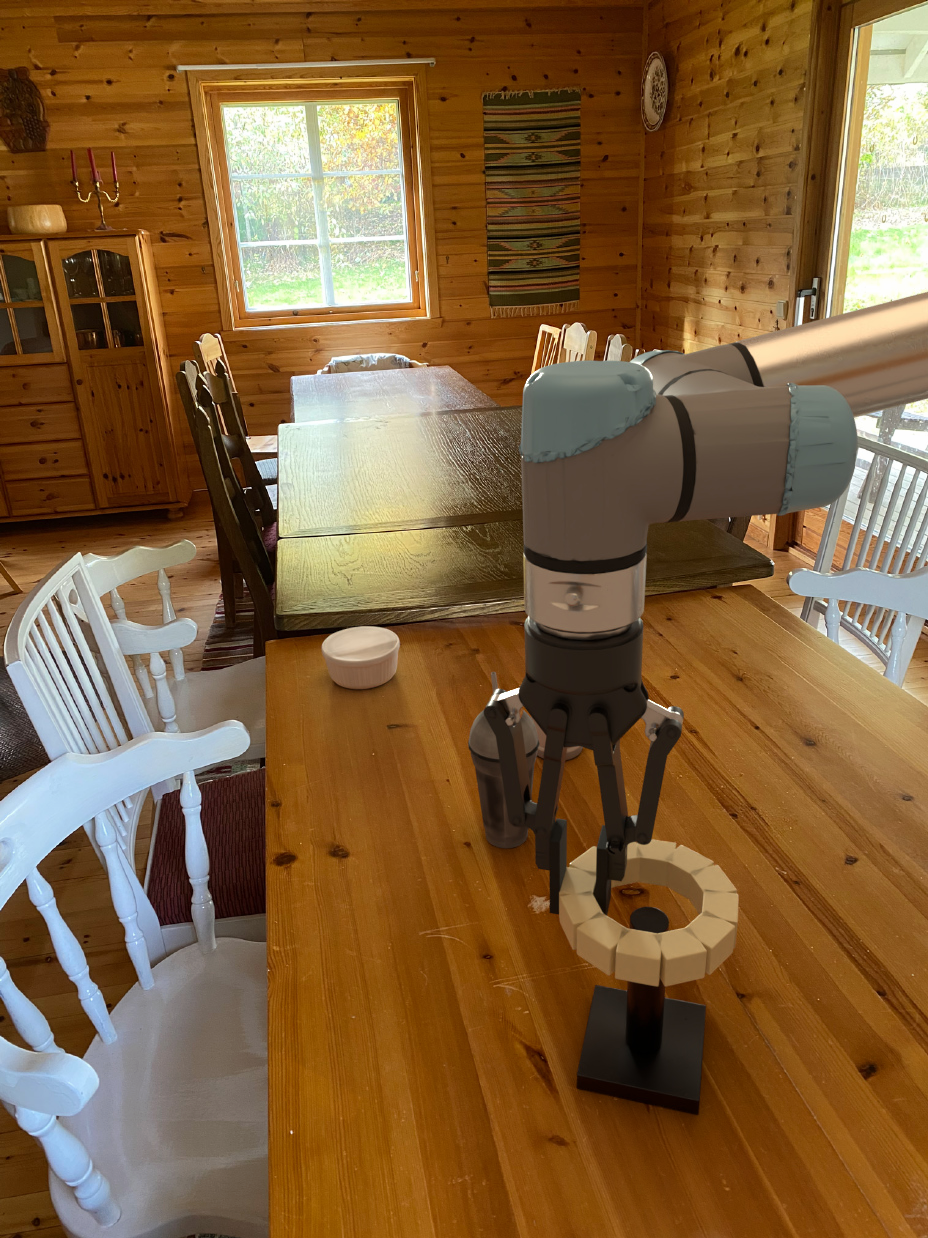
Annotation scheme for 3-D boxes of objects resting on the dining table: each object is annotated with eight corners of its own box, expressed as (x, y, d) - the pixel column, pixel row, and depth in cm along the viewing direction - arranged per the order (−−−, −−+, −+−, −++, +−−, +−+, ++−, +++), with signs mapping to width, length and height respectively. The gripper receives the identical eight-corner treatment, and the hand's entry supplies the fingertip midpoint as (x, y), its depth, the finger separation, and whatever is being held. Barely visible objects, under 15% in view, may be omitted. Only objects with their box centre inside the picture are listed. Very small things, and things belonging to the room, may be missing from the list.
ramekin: (371, 701, 125) (368, 666, 123) (308, 683, 131) (304, 650, 129) (417, 667, 134) (414, 634, 132) (356, 652, 139) (353, 620, 137)
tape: (737, 877, 70) (740, 852, 69) (732, 1001, 59) (735, 974, 58) (577, 852, 74) (577, 828, 73) (545, 966, 63) (545, 939, 62)
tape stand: (704, 1018, 75) (716, 888, 69) (698, 1115, 67) (710, 977, 61) (595, 997, 77) (597, 870, 72) (576, 1088, 69) (577, 953, 64)
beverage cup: (554, 831, 98) (553, 664, 89) (511, 866, 93) (506, 693, 85) (502, 806, 102) (496, 645, 94) (458, 838, 97) (448, 671, 89)
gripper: (447, 630, 57) (464, 922, 67) (708, 652, 53) (685, 961, 62) (480, 585, 63) (490, 857, 73) (714, 601, 59) (692, 888, 69)
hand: (580, 904), depth 68 cm, fingers closed on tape, 3 cm apart
